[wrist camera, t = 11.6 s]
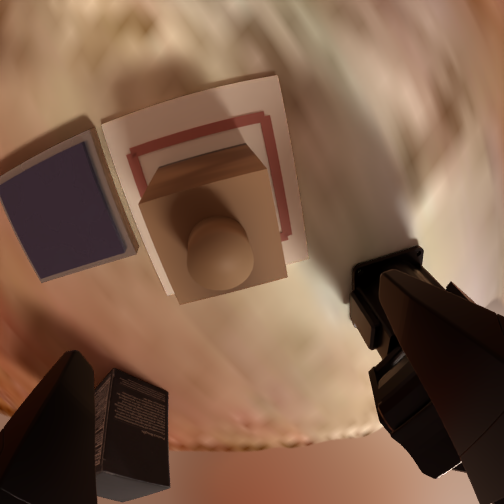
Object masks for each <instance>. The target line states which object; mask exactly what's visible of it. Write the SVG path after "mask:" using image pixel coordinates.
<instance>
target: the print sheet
mask: <svg viewBox="0 0 504 504" xmlns="http://www.w3.org/2000/svg"><path fill="white" fill-rule="evenodd" d="M101 126H102V129H103V132H104V136H105V139H106V142H107V145H108V148H109V151H110V154H111V157H112V160H113V163H114V166H115V169H116V172H117V175H118V177H119V180H120V183H121V186H122V189H123V191H124V194H125V197H126V199H127V202H128V205H129V207H130V210H131V212H132V215H133V217H134V220H135V222H136V225H137V227H138V230H139V232H140V235H141V237H142V240H143V242H144V244H145V247H146V249H147V252H148V254H149V256H150V259H151V261H152V263H153V265H154V268H155V270H156V272H157V274H158V277H159V279H160V281H161V283H162V285H163V288H164V290H165V292H166V294H167V296H168V295H172V294H175V293H174V291H173V289H172V287H171V284H170V282H169V280H168V277H167V275H166V273H165V271H164V268H163V266H162V263H161V261H160V259H159V256H158V254H157V252H156V249H155V247H154V244H153V242H152V239H151V237H150V234H149V232H148V229H147V227H146V224H145V221H144V219H143V216H142V214H141V211H140V208H139V206H138V204H139V202H140V200H141V198H142V196H143V194H144V192H145V191H146V189H147V187H148V185H149V183H150V181H151V180H152V178H153V176H154V174H155V173H156V171H157V169H158V167H160V166H163V165H166V164H169V163H173V162H176V161H179V160H183V159H186V158H190V157H193V156H197V155H200V154H204V153H208V152H212V151H215V150H219V149H223V148H227V147H231V146H235V145H239V144H244V143H246V144H247V145H248V146H249V147H250V149H251V150H252V151H253V152H254V153H255V155H256V156H257V157H258V158H259V159H260V161H261V162H262V163H263V164H264V165H265V167H266V168H267V170H268V175H269V180H270V185H271V190H272V195H273V200H274V205H275V210H276V216H277V221H278V226H279V232H280V237H281V242H282V248H283V253H284V259H285V264H286V265H288V264H291V263H295V262H299V261H302V260H306V259H309V255H308V248H307V240H306V233H305V226H304V219H303V212H302V205H301V199H300V192H299V186H298V180H297V174H296V168H295V162H294V156H293V150H292V145H291V139H290V134H289V128H288V123H287V118H286V113H285V108H284V103H283V98H282V93H281V88H280V83H279V79H278V75H275V76H269V77H263V78H258V79H252V80H247V81H242V82H237V83H233V84H228V85H224V86H219V87H215V88H211V89H207V90H203V91H199V92H196V93H192V94H188V95H185V96H181V97H178V98H175V99H171V100H168V101H165V102H162V103H159V104H156V105H152V106H149V107H147V108H144V109H141V110H138V111H135V112H132V113H130V114H127V115H124V116H122V117H119V118H116V119H114V120H111V121H109V122H106V123H104V124H102V125H101Z"/></svg>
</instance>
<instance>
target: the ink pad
mask: <svg viewBox="0 0 504 504" xmlns="http://www.w3.org/2000/svg"><path fill="white" fill-rule="evenodd" d="M0 201H1V203H2V206H3V208H4V210H5V213H6V215H7V217H8V220H9V222H10V224H11V226H12V228H13V230H14V232H15V234H16V237H17V239H18V241H19V243H20V245H21V247H22V249H23V250H24V252H25V254H26V256H27V258H28V260H29V262H30V264H31V265H32V267H33V269H34V271H35V273H36V274H37V276H38V278H39V279H40V281H41V283H43V282H47V281H50V280H53V279H56V278H59V277H63V276H66V275H69V274H72V273H75V272H79V271H82V270H85V269H89V268H92V267H95V266H99V265H102V264H105V263H109V262H112V261H115V260H119V259H122V258H126V257H129V256H132V255H136V254H137V251H138V248H139V245H138V243H137V240H136V238H135V236H134V233H133V231H132V228H131V226H130V223H129V221H128V218H127V216H126V213H125V211H124V208H123V206H122V203H121V201H120V198H119V195H118V193H117V190H116V187H115V185H114V182H113V179H112V176H111V174H110V171H109V168H108V165H107V162H106V159H105V156H104V153H103V150H102V147H101V144H100V141H99V138H98V135H97V131H96V128H92V129H89V130H87V131H85V132H83V133H80V134H78V135H76V136H74V137H72V138H69V139H67V140H65V141H63V142H61V143H59V144H57V145H55V146H53V147H51V148H49V149H47V150H45V151H43V152H42V153H40V154H38V155H36V156H34V157H32V158H30V159H29V160H27V161H25V162H23V163H22V164H20V165H18V166H16V167H15V168H13V169H11V170H10V171H8V172H6V173H5V174H3V175H2V176H0Z"/></svg>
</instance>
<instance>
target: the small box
mask: <svg viewBox="0 0 504 504" xmlns="http://www.w3.org/2000/svg"><path fill="white" fill-rule="evenodd" d="M94 394H95V416H96V417H95V469H96V490H97V496H99V497H103V498H107V499H111V500H115V501H120V502H125V501H129V500H132V499H136V498H140V497H143V496H147V495H150V494H153V493H156V492H160V491H163V490H166V489H169V488H170V473H169V444H168V392H167V391H164V390H162V389H160V388H157V387H155V386H153V385H150V384H148V383H146V382H144V381H141V380H139V379H137V378H135V377H132V376H130V375H128V374H126V373H124V372H122V371H120V370H118V369H115V368H114V369H112V371H111V372H110V373H109V374H108V375H107V376H106V377H105V379H104V380H103V381H102V382H101V383H100V384H99V385H98V387H97V388H96V389H95V390H94Z"/></svg>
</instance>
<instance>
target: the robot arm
mask: <svg viewBox="0 0 504 504" xmlns="http://www.w3.org/2000/svg"><path fill="white" fill-rule="evenodd" d="M417 252H418V253H417ZM423 253H424V250H423V249H422V248H421V247H420V246H415V247H412V248H409V249H405V250H402V251H399V252H396V253H393V254H390V255H387V256H383V257H380V258H377V259H374V260H370V261H367V262H364V263H361V264H358V265H356V266H355V267H354V268H353V270H352V291H351V293H350V317H351V318H352V323H353V325H354V327H355V328H357V329H358V331H359V332H360V334H361V336H362V337H363V339H364V341H365V343H366V344H367V346H368V348H369V349H371V350H374V349H377V351H378V353H379V354H380V356H381V358H382V361H381V362H380V363H379V364H377V365H376V366H375V367H373V368H372V369H371V370H370V371H369V372H368V373H369V377H370V381H371V386H372V390H373V395H374V400H375V405H376V410H377V414H378V417H379V421H380V423H381V424H382V425H383V426H384V428H385V429H386V430H387V431H388V432H389V433H390V435H391V437H392V438H393V439H394V440H396V441H397V442H398V443H400V444H401V445H402V446H403V447H404V448H405V449H406V450H407V452H408V453H409V454H410V455H411V457H412V458H413V459H414V461H415V462H416V464H417V465H418V467H419V469H420V470H421V471H422V473H424V474H426V475H428V476H430V477H432V478H434V479H437V478H439V477H441V476H442V475H444V474H445V473H447V472H448V471H450V470H455V471H460V472H465V473H467V475H468V477H469V479H470V482H471V484H472V486H473V489H474V491H475V494H476V496H477V499H478V501H479V503H480V504H490V503H492V504H504V317H503V316H501V315H499V314H497V315H496V313H495V312H492V311H490V310H488V309H486V308H484V307H482V306H479V305H477V304H476V303H475V302H474V301H473V300H472V299H470V298H469V297H468V296H467V295H466V294H465V293H464V292H463V291H462V290H460V289H459V288H458V287H457V286H456V285H455V284H454V283H452V282H450V283H449V284H448V286H447V287H446V288H447V289H446V290H445V289H444V288H443V287H442V286H441V285H440V284H439V283H438V282H437V280H436V279H435V278H434V277H433V276H432V275H431V274H430V273H429V272H428V271H427V270H426V269H425V268H424V267H423V266H422V261H423ZM359 270H361V271H360V272H358V271H359ZM95 417H96V416H95V394H94V371H93V368H92V366H91V365H90V364H89V363H88V361H87V360H86V359H85V358H84V356H83V355H82V354H81V353H80V352H79V351H78V350H72V351H67V352H65V353H64V354H63V356H62V357H61V358H60V359H59V360H58V361H57V362H56V364H55V365H54V366H53V367H52V368H51V369H50V371H49V372H48V373H47V374H46V375H45V376H44V378H43V379H42V380H41V381H40V382H39V384H38V385H37V386H36V387H35V388H34V390H33V391H32V392H31V393H30V395H29V396H28V397H27V398H26V399H25V401H24V402H23V403H22V404H21V406H20V407H19V408H18V410H17V411H16V412H15V413H14V415H13V416H12V417H11V418H10V420H9V421H8V422H7V424H6V425H5V426H4V429H2V430H1V432H0V504H97V490H96V469H95Z"/></svg>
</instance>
